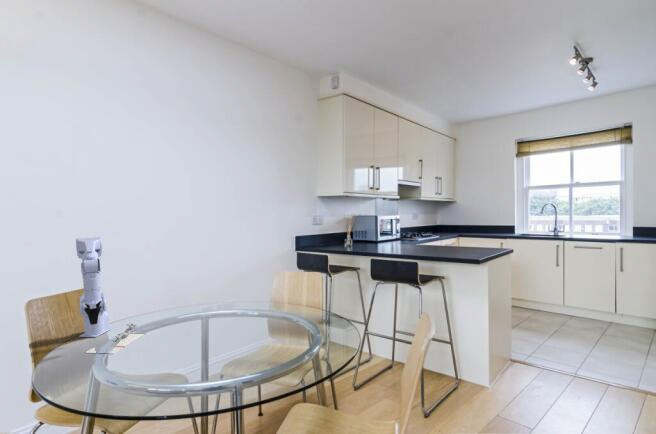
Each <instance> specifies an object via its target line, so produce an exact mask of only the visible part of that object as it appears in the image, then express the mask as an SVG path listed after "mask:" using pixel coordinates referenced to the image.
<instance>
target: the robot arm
mask: <svg viewBox="0 0 656 434" xmlns="http://www.w3.org/2000/svg"><path fill="white" fill-rule="evenodd" d="M75 245H76V248H75V249H76V250H75V251H76V255H77V258H78V259H80V260H81V261H80V271H81V276H82V283H83V294H82V295H81V296H80V297H79V298H78V299H79V300H78V301H79V302H78V307H79V308H78V310H79V315H80V316H82V317H83V331H84V333H82V334H80V335H79V338H97V337H99V336H101V335H103V334H106V333H107V332H109V331H110V330H112V328H111V327H110V316H109V313H108V312H107V300H106V294H105V293H103V292H102V288H101V287H102V286H101V271H102V266H101V265H102V264H101V259H100V258H99V257H102V253H103V241H102V237H101V236H98V237H96V236H95V237H81V238H76V239H75Z"/></svg>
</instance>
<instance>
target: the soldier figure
mask: <svg viewBox="0 0 656 434" xmlns="http://www.w3.org/2000/svg"><path fill="white" fill-rule="evenodd" d="M125 325H126V326H127V327H128V328H125V331H124V332H123V331H122V333H121V334H119V333H117V334H116V335H119V336H115V335H114V336H115V337H116V340H112V341H113V342H117V341H118V340H119V339H120V338H125V337H127V336H128V335H129V333H132V331H133V330H134V329H135V328H136V327H137V326H138V325H137V324H136V323H130V324H129V323H125Z"/></svg>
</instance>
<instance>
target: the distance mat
mask: <svg viewBox="0 0 656 434" xmlns="http://www.w3.org/2000/svg"><path fill="white" fill-rule="evenodd" d="M146 333H147V332H130V333H129V335H128V336H127V337H125V338H122V340H120V342H119V343H118V344H117V345H116V346H115V347H114V349H113V351H112V352H111V354H110V355H114V354H117V353H118V352H119V351H121V350H122V349H124V348H126V347H127V346H128V345H130V344H132V343H134V342H135V341H136V340H139V338H141V337H143V336H145V335H146ZM84 353H85V354H97V353H96V351H95V348H94V347H93V348H90V349H88V350H87V351H85V352H84Z"/></svg>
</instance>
